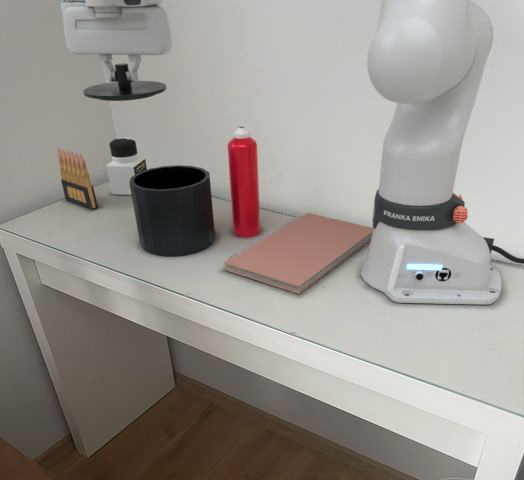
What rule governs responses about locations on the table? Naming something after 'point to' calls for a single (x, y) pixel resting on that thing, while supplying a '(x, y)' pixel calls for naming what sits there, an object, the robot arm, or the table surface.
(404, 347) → the table surface
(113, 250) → the table surface
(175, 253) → the trash bin
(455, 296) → the robot arm
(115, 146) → the medicine bottle
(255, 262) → the notebook
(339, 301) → the table surface
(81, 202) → the ammunition clip
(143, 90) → the bin lid
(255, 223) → the bottle
